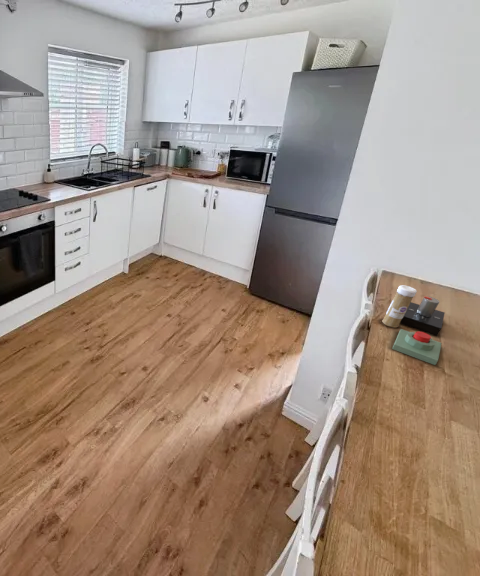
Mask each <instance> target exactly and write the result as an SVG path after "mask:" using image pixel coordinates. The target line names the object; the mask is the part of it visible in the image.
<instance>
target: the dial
mask: <svg viewBox="0 0 480 576" xmlns="http://www.w3.org/2000/svg"><path fill="white" fill-rule="evenodd" d="M419 305H420V306H419V307H418V309H417V311H416V312H417V313H418V314H420V315H422V316H425V317H431V316H432V315H433V313H434V311H435V310H437V308H438V305H440V300H438V299H437V298H436V297H432V296H426V295H424V296H423V298H422V300H421V302H420V304H419Z"/></svg>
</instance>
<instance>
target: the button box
mask: <svg viewBox="0 0 480 576" xmlns="http://www.w3.org/2000/svg"><path fill="white" fill-rule="evenodd" d="M415 332H416V331H408V330H406V329H402V328H400V329H399V332H398V333H397V336H396V339H395V341H394V343H393V345H392V350H394V351H397V352H399V353H402V354H405V355H407V356H410V357H413V358H415V359H417V360H420V361H423V362H424V363H425V362H426V363H428V364H431V365H434V366H436V365H437V363H438V361H439V358H440V352H441V349H442V342H440V341H437V340H434V339H433V338H431V339H430V340H429V342H428V343H423V342H420V341H417V340H416V339H414V338H413V336H414V334H415Z"/></svg>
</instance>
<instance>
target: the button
mask: <svg viewBox="0 0 480 576" xmlns="http://www.w3.org/2000/svg"><path fill="white" fill-rule="evenodd" d="M414 332H415V334H414V336H413V338H414V339H416V340H417V341H420V342H423V343H428V342H429V340H430V339H432V335H431V334H429V333H426V332H423V331H420V330H417V331H414Z"/></svg>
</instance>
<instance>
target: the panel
mask: <svg viewBox="0 0 480 576" xmlns="http://www.w3.org/2000/svg"><path fill="white" fill-rule="evenodd" d="M419 306H420V304H418V303H415V302H412V301H411V302H410V304H409V306H408V308H407V311H406V313H405V314H404V316H403V318H402V320H401V322H400V323H399V325H402V326H406V327H408V328H411V329H413V330H417V331H420V332H424V333H426V334H428V335H430V336H435V337H438V335H439V333H440V332H441V330H442V327H443V324H444V323H443V322H444V318H445V314H446V312H445V311H441V310H437V309H435V311H434V313H433V315H432V316H431V317H425V316H422V315H420V314H418V313H417V312H416V311H417V309H418V307H419Z"/></svg>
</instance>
